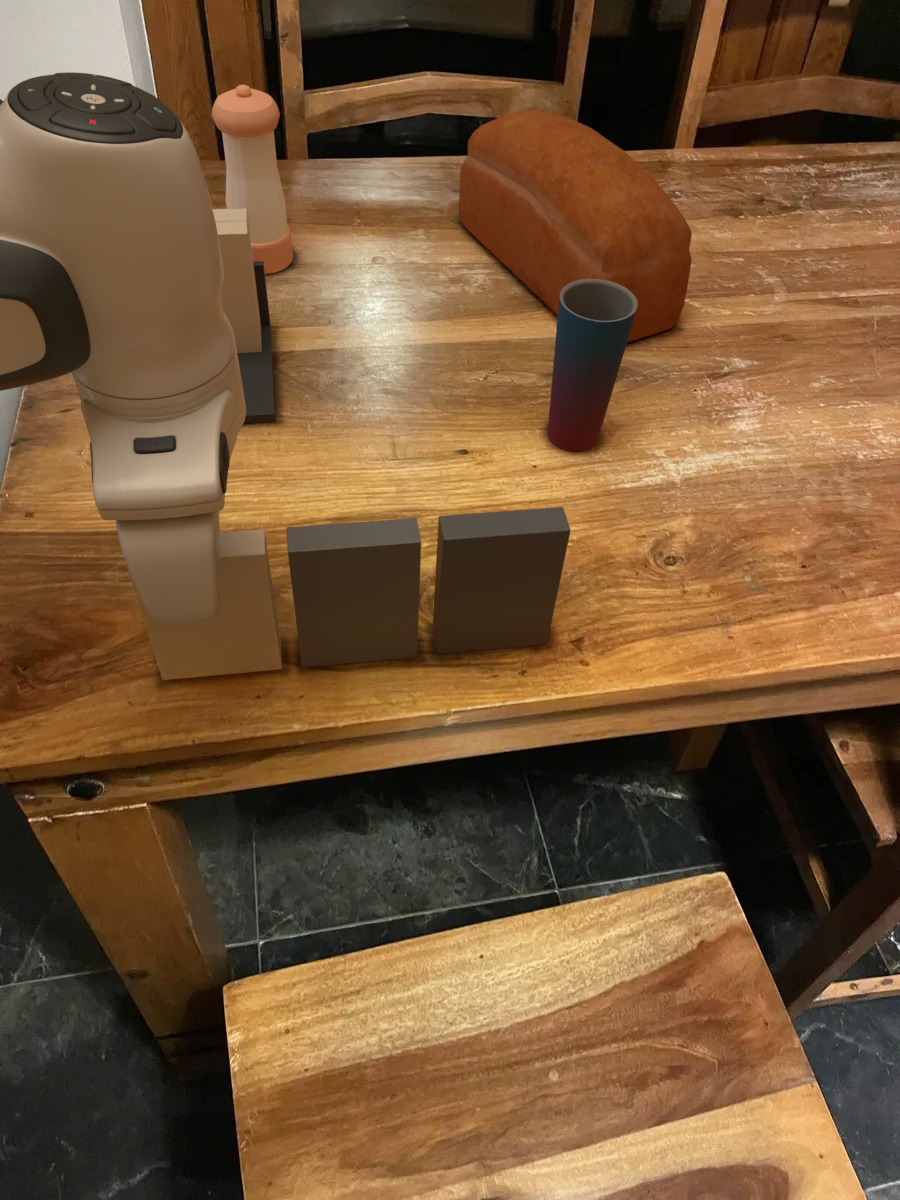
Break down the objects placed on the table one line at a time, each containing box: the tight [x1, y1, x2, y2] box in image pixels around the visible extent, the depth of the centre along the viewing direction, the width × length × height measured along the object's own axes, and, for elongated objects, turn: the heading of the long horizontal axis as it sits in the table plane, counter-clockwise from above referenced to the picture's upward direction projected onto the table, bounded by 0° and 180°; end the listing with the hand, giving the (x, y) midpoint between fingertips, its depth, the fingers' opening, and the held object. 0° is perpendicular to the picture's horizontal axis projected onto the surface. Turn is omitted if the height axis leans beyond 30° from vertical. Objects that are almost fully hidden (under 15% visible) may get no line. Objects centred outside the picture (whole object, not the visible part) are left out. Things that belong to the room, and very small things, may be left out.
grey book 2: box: [431, 506, 571, 655], centre depth 70 cm, size 9×2×13 cm, turn 99°
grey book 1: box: [286, 517, 422, 668], centre depth 69 cm, size 9×2×13 cm, turn 99°
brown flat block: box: [125, 528, 283, 681], centre depth 67 cm, size 9×2×13 cm, turn 99°
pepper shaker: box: [211, 84, 294, 275], centre depth 103 cm, size 7×7×19 cm
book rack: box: [213, 208, 277, 425], centre depth 90 cm, size 11×16×14 cm
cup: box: [547, 279, 638, 453], centre depth 86 cm, size 7×7×15 cm
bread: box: [458, 108, 693, 343], centre depth 107 cm, size 14×33×16 cm, turn 28°
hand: (204, 559), depth 63 cm, fingers open, 8 cm apart
